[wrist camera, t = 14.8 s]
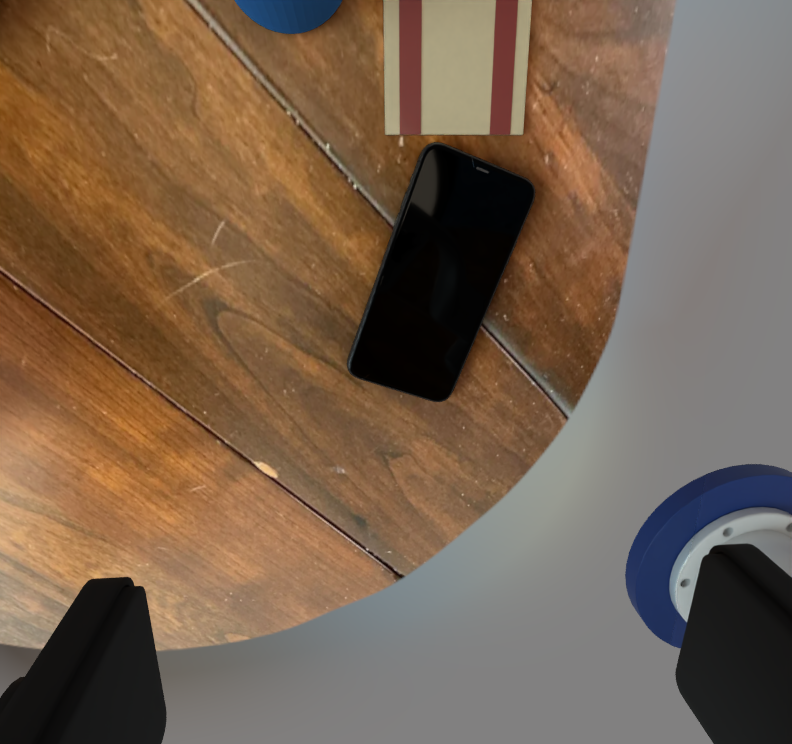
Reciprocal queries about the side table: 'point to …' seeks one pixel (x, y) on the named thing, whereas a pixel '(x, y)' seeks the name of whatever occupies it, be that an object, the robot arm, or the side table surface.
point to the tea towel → (455, 66)
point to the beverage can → (289, 13)
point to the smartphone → (439, 272)
